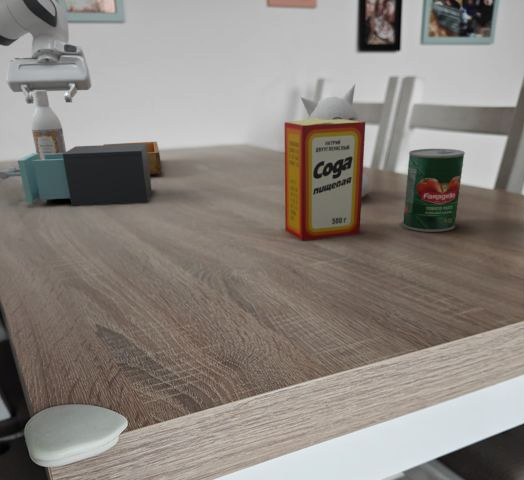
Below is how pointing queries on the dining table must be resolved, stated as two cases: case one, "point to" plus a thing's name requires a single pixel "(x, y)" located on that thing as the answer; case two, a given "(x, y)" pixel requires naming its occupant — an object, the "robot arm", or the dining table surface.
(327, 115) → the decorative figurine
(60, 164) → the drawer
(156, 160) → the tray
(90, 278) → the dining table surface
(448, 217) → the canned tomato
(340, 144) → the baking soda box
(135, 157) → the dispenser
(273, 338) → the dining table surface
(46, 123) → the bath foam
